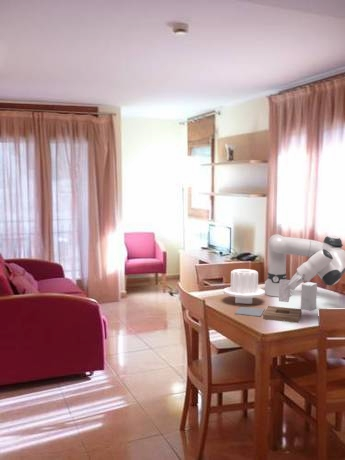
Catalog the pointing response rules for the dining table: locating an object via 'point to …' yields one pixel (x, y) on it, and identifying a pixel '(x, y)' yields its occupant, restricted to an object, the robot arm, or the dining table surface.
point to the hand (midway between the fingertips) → (285, 289)
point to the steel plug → (283, 295)
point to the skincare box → (308, 296)
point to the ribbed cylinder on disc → (244, 286)
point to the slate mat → (250, 311)
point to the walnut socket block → (282, 314)
